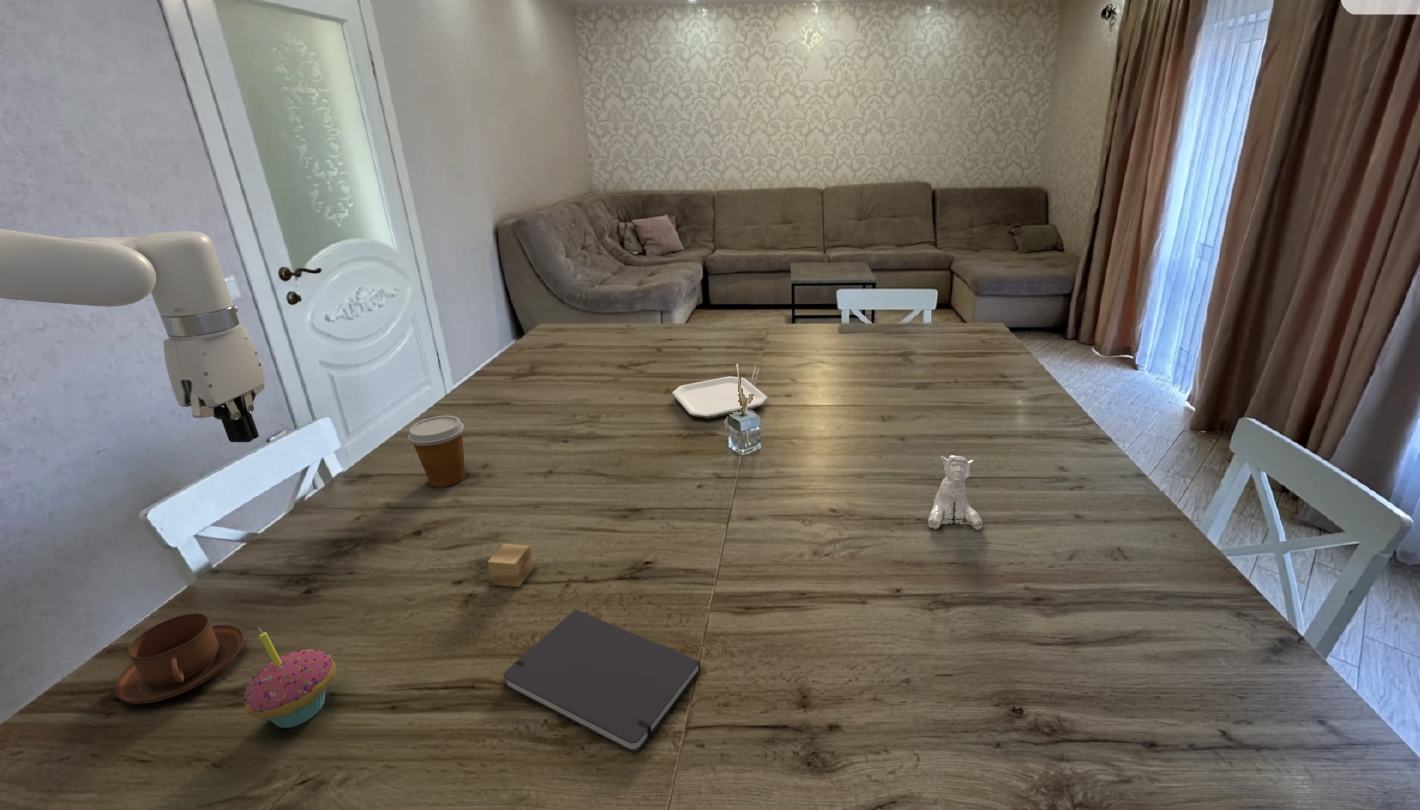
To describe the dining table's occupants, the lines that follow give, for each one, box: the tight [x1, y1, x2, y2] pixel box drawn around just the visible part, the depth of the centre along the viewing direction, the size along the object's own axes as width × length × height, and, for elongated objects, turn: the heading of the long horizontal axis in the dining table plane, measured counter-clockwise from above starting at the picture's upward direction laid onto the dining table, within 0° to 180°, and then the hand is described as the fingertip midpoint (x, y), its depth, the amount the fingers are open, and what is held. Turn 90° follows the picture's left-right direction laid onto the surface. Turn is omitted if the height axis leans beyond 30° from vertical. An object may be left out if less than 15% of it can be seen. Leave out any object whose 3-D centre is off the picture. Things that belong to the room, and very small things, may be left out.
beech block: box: [487, 543, 535, 588], centre depth 95 cm, size 4×4×4 cm
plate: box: [671, 375, 768, 420], centre depth 157 cm, size 21×21×2 cm
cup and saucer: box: [113, 612, 244, 705], centre depth 78 cm, size 12×12×6 cm
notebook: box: [503, 608, 701, 753], centre depth 77 cm, size 13×2×21 cm
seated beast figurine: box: [927, 455, 984, 531], centre depth 108 cm, size 10×9×12 cm
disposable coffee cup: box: [407, 415, 466, 488], centre depth 120 cm, size 10×10×12 cm
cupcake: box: [243, 627, 337, 729], centre depth 71 cm, size 9×8×12 cm
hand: (244, 439), depth 91 cm, fingers closed
